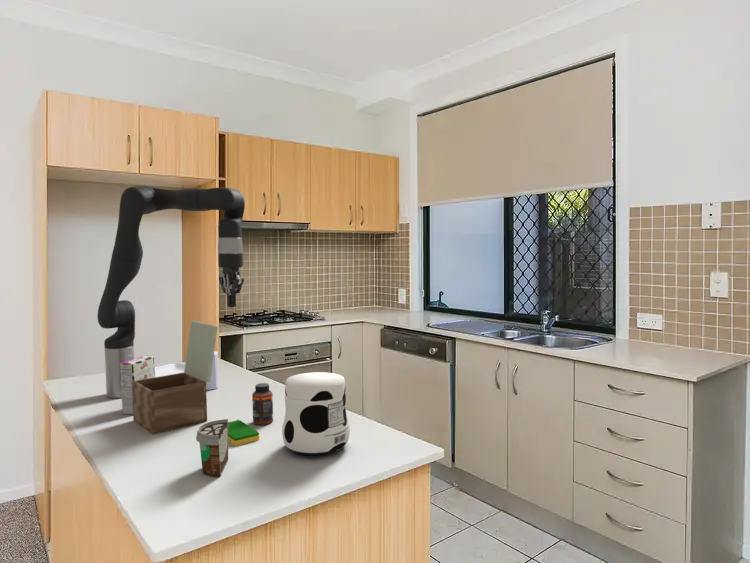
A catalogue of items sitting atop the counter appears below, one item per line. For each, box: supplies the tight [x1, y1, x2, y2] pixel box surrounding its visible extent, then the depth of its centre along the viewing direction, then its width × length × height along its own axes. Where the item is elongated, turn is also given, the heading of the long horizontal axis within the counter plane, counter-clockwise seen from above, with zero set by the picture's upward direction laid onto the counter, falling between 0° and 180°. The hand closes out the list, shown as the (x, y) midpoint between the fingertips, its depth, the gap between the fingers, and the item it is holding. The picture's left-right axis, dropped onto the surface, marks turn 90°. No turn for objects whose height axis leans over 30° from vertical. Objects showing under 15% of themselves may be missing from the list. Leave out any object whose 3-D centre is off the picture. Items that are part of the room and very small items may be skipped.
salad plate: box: [154, 362, 185, 377], centre depth 212 cm, size 21×21×3 cm
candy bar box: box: [120, 355, 155, 416], centre depth 171 cm, size 11×5×16 cm, turn 168°
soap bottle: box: [191, 350, 220, 391], centre depth 198 cm, size 13×8×20 cm, turn 58°
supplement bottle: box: [251, 382, 274, 426], centre depth 159 cm, size 6×6×11 cm
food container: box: [195, 418, 229, 478], centre depth 126 cm, size 12×6×10 cm, turn 5°
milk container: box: [281, 371, 351, 456], centre depth 138 cm, size 17×17×18 cm
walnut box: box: [132, 372, 208, 435], centre depth 160 cm, size 16×16×12 cm
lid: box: [184, 320, 219, 382], centre depth 166 cm, size 17×17×1 cm
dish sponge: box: [228, 419, 260, 447], centre depth 148 cm, size 7×14×2 cm, turn 37°
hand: (231, 306), depth 170 cm, fingers closed
